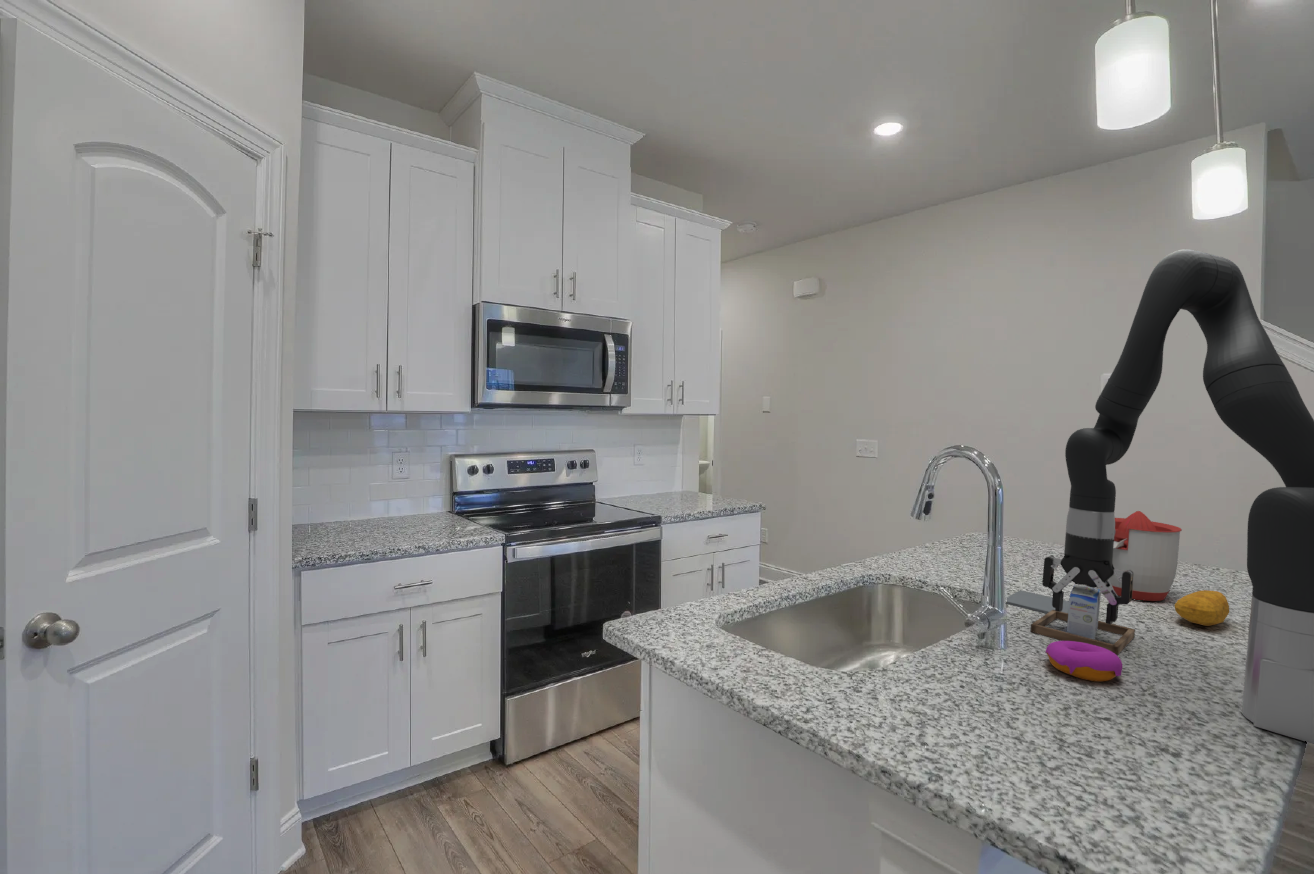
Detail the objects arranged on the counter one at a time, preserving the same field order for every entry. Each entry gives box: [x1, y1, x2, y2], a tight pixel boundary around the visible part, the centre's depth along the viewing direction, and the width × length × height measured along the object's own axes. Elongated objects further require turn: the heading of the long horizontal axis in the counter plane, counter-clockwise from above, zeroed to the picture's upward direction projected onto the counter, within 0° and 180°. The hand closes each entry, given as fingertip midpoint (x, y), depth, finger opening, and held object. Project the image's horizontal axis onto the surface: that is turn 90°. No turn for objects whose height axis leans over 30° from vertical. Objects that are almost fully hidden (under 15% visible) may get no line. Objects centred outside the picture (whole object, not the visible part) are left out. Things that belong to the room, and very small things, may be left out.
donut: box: [1045, 640, 1124, 683], centre depth 99 cm, size 10×10×4 cm
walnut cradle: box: [1030, 610, 1136, 656], centre depth 116 cm, size 14×14×2 cm
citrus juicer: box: [1108, 510, 1183, 602], centre depth 142 cm, size 16×17×20 cm
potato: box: [1173, 589, 1230, 627], centre depth 124 cm, size 8×14×7 cm, turn 123°
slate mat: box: [1006, 589, 1069, 615], centre depth 133 cm, size 12×12×1 cm
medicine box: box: [1066, 584, 1102, 640], centre depth 116 cm, size 8×4×9 cm, turn 141°
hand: (1083, 616), depth 116 cm, fingers open, 7 cm apart
